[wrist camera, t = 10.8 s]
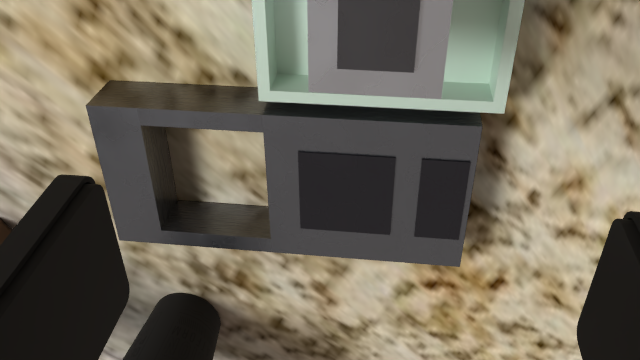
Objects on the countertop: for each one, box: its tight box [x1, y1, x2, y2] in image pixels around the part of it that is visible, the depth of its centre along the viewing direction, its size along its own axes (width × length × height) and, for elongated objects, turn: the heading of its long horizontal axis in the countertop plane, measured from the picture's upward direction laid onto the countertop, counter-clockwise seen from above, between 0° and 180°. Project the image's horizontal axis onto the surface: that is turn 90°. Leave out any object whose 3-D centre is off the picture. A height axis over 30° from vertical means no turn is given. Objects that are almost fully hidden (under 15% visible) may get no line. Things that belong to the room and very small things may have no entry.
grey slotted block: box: [86, 81, 482, 267], centre depth 34 cm, size 9×20×3 cm, turn 90°
